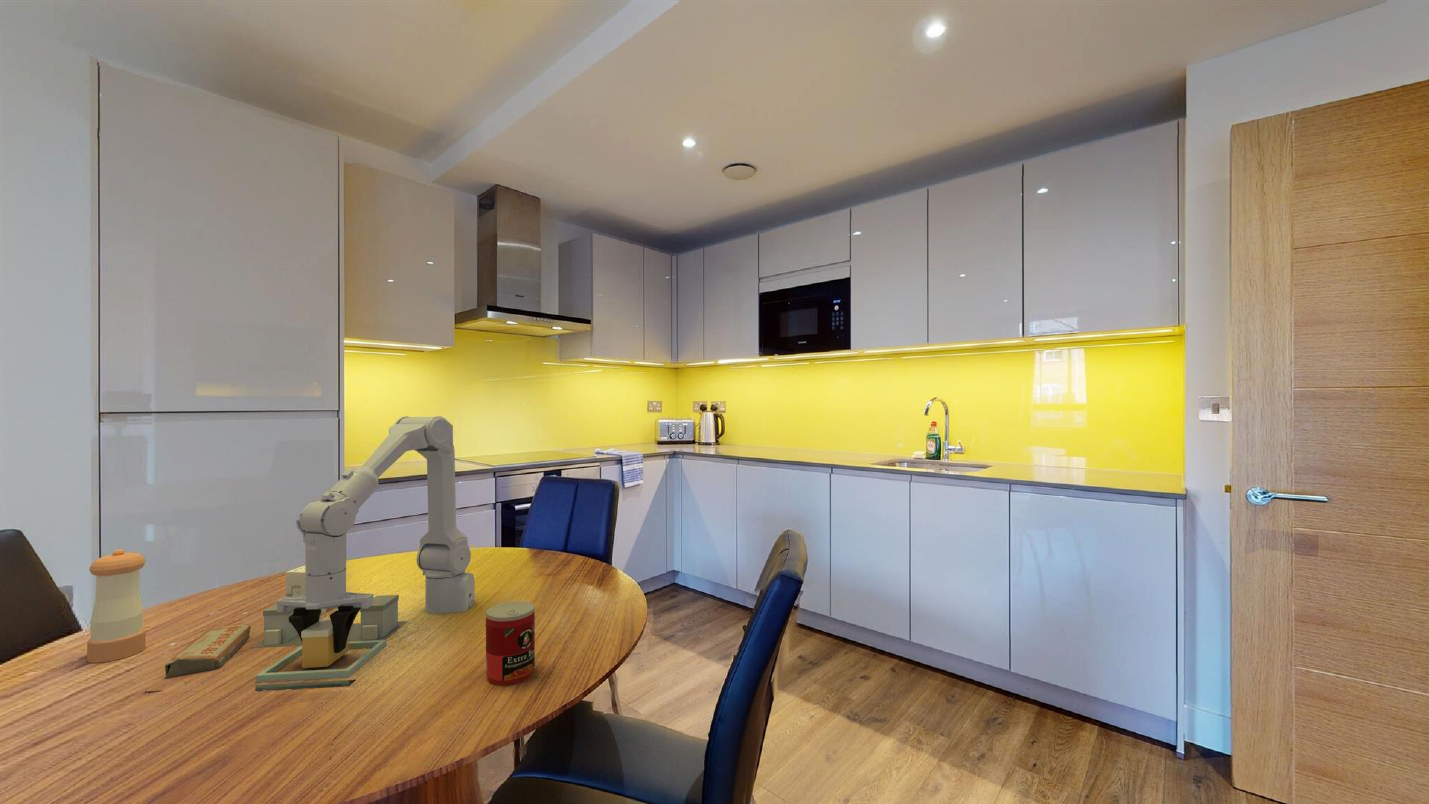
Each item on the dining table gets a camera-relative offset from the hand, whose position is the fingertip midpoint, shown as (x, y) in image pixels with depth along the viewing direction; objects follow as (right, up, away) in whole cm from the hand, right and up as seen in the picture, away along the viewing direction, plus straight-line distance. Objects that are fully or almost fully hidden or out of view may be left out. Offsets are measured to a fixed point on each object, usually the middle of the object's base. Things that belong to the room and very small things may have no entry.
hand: (325, 651), depth 93 cm
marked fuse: (0, -1, 0) cm, 1 cm away
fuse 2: (+1, -2, +13) cm, 13 cm away
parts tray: (0, -3, 0) cm, 3 cm away
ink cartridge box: (-19, -4, +23) cm, 30 cm away
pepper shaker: (-44, -4, +7) cm, 45 cm away
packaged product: (-23, -4, +3) cm, 23 cm away
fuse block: (-7, -4, +12) cm, 15 cm away
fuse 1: (-16, -2, +11) cm, 20 cm away
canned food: (+32, -3, -2) cm, 33 cm away
